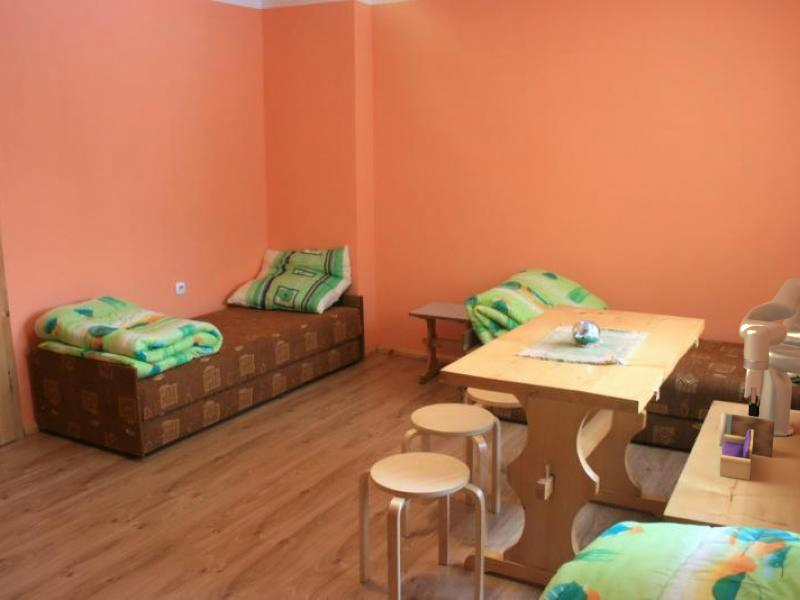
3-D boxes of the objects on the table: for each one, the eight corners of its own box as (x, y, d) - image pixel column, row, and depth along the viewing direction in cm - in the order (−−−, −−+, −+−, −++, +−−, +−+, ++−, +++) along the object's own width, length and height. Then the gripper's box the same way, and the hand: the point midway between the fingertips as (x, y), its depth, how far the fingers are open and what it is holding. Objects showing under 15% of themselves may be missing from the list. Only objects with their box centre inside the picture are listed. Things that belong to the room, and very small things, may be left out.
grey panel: (719, 443, 243) (721, 412, 241) (769, 451, 235) (771, 419, 233) (719, 445, 241) (720, 414, 239) (768, 453, 233) (771, 421, 231)
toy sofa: (722, 452, 236) (724, 423, 234) (751, 457, 232) (754, 427, 230) (718, 477, 218) (720, 445, 216) (750, 482, 214) (752, 449, 212)
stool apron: (729, 450, 237) (731, 416, 235) (730, 449, 238) (732, 414, 236) (771, 457, 231) (774, 422, 229) (772, 455, 232) (774, 420, 230)
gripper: (745, 356, 245) (743, 406, 249) (741, 369, 232) (739, 422, 236) (770, 358, 241) (767, 409, 245) (767, 371, 228) (764, 425, 232)
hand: (753, 415), depth 240 cm, fingers closed
